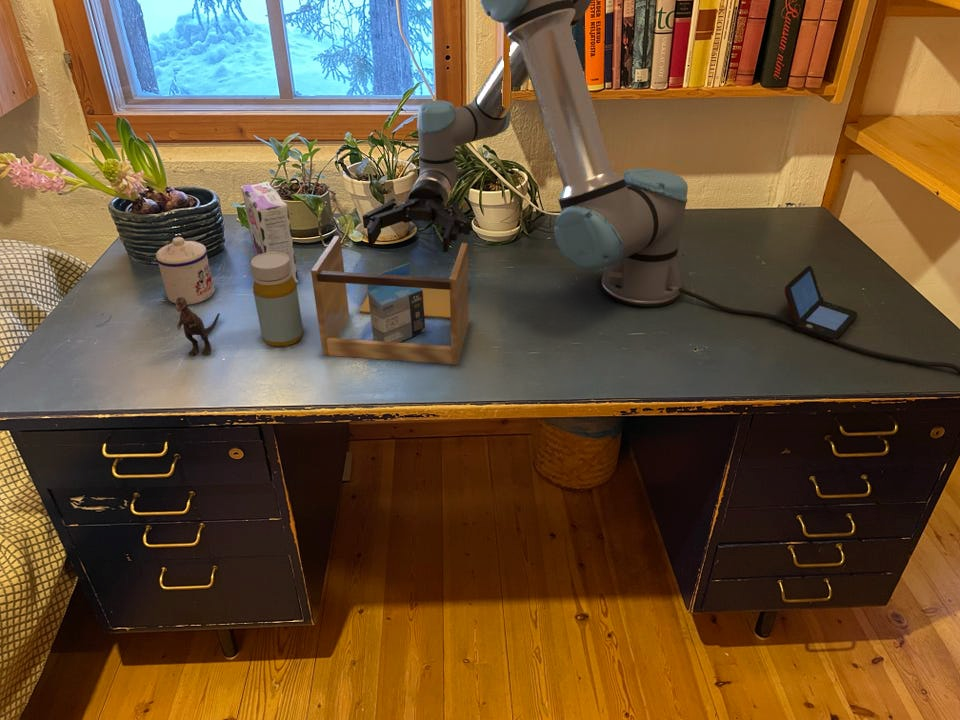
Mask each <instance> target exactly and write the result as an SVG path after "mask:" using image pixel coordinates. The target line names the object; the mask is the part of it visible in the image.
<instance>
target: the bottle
mask: <svg viewBox="0 0 960 720" xmlns="http://www.w3.org/2000/svg"><path fill="white" fill-rule="evenodd" d="M250 267H251V272H252V275H253V283H252V292H253V296H254V302H255V307H256V312H257V313H256V314H257V317H258V318H257V319H258V324H259V328H260V333H261V337H262V340H263V341H264V342H265V343H266V344H268V345H269V346H272V347H276V348H282V347H288V346H292V345H294V344H297V343H298V342H299V341H300V340H301V338H302V337H303V336H304V326H303V320H302V313H301V308H300V301H299V294H298V287H297V283H296V282H295V280H294V278H293V277H292V273H291V265H290V259H289V257H288V256H287V255H286V254H284V253H280V252H268V253H263V254H260V255H257V256H254V257H253V258H252V259H251V260H250Z"/></svg>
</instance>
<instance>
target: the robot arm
mask: <svg viewBox="0 0 960 720" xmlns="http://www.w3.org/2000/svg"><path fill="white" fill-rule="evenodd" d="M479 2H480V5H481V7H482V9H483V11H484V13H485V14H486V15H487V16H488V17H490V19H492V20H493V21H495V22H497V23H502V25H503V29H504V32H505V34H506V38H507V40H509V41H510V40H511V45H510V52H509V56H510V58H509V60H510V61H509V63H510V64H509V65H510V68H511V69H510V70H511V76H512V86H513V87H520V86H522V85H523V84H524V83H525V82H527V81H528V80H529V79H530V80H531V81H530V83H531V86H532V89H533V94H534V97H535V99H536V103H537V106H538V109H539V112H540V115H541V120H542V122H543V125H544V129H545V131H546V135H547V138H548V141H549V144H550V148H551V151H552V154H553V157H554V161H555V164H556V168H557V170H558V174H559V177H560V180H561V183H562V190H561V192H560V194H559V196H558V204H559V206H560V210H561V212H560V213H558V215H557V217H556V219H555V225H554V229H553V232H554V238H555V241H556V244H557V247H558V248H559V250H560V252H561V253H562V255H563V256H564V257H565V259H567V260H568V261H569V263H571V264H574V265H575V266H576V267H578V268H579V269H582V270H585V271H598V270H602V269H604V270H603V273H602V277H601V284H600V287H601V289H602V291H603V293H604V294H605V295H606V296H607V297H608V298H610V299H612V300H613V301H615V302H617V303H620V304H623V305H626V306H631V307H637V308H659V307H663V306H668V305H671V304H672V303H675V302H676V301H677V300H678V299H679V298H680V296H681V294H684V295H687V296H689V297H692V298H694V299H696V300H699V301H701V302H704V303H705V304H708V305H710V306H712V307H713V308H716V309H719V310H721V311H724V312H729V313H732V314H740V315H747V316H756V317H763V318H768V319H772V320H775V321H779V322H781V323H784V324H786V325H789V326H791V327H793V325H794V323H795V322H794V320H793V321H792V320H791V319H788V318H785V317H783V316H779V315H776V314H772V313H768V312H763V311H758V310H757V311H755V310H746V309H739V308H733V307H729V306H725V305H723V304H720V303H717V302H715V301H713V300H711V299H709V298H707V297H705V296H702V295H699V294H697V293H695V292H692V291H690V290H687V289H684V288H682V287H683V280H682V275H681V269H680V264H679V259H678V254H679V253H678V252H679V246H680V241H681V234H682V229H683V224H684V218H685V212H686V206H687V203H688V191H689V188H688V187H689V186H688V183H687V181H686V180H685V179H684V178H683V177H681V176H680V175H678V174H675V173H672V172H669V171H666V170H661V169H656V168H655V169H654V168H647V167H646V168H644V167H643V168H642V167H640V168H639V167H637V168H630V169H627V170H626V171H624V173H623V175H622V174H620V173H619V172H616V171H615V170H614V169H613V167H612V164H611V161H610V157H609V153H608V150H607V147H606V144H605V141H604V137H603V134H602V131H601V127H600V123H599V121H598V116H597V114H596V110H595V107H594V104H593V100H592V96H591V93H590V90H589V87H588V83H587V79H586V76H585V72H584V70H583V66H582V62H581V60H580V56H579V53H578V49H577V46H576V45H577V44H576V42H575V39H574V36H573V32H572V29H571V28H573V27H575V26H577V25H578V23H579V22H580V20H582V18H583V16H584V15H585V14H586V12H587V11H588V9H589V8H590V6H591V4H592V2H593V0H479ZM503 71H504V61H503V58H502V56H501V55H500V56H499V58H498V59H497V61H496V63H495V64H494V66H493V68H492V69H491V71H490V72H489V74H488V76H487V78H486V79H485V81H483V84H482V85H481V86H480V89H479V90H478V92H477V94H476V95H475V97H474V98H473V99H472V102H470V103H468V104H464V105H460V106H457V107H455V105H454V104H453V103H452V102H450V101H447V100H443V99H442V100H439V99H438V100H437V99H436V100H428V101H427V100H426V101H424V102H423V103H421V104H420V105H419V107H418V109H417V123H416V128H417V136H418V151H419V152H418V154H419V155H418V156H419V157H418V159H419V160H418V165H419V175H418V178H417V179H416V181H415V182H414V184H413V186H412V188H411V189H410V191H409V193H408V196H407V197H406V198H407V199H406V200H405V201H403V202H402V203H401V202H397V200H396V198H390V199H389V200H388V201H387V202H385V203H383V204H381V205H379V206H377V207H376V208H373V209H371V210H370V211H367V212H365V213H363V214H362V215H361V216H362V225H363V228H364V229H366V234H367V243H368V244H367V246H368V247H369V248H373V247H375V244H376V242H377V241H378V238H379V237H380V235H381V233H382V229H385V228H388V227H390V226H394V225H396V224H399V223H404V224H407V223H410V222H412V221H423V222H431V223H433V224H434V225H435V226H437V225H439V226H440V227H442V228H443V229H445V232H444V234H443V237H442V252H443V253H448V251H449V250H450V246H451V243H452V242H456V241H458V239H459V236H460V235H461V234H463V235H464V236H469V235H470V234H471V221H470V219H469V218H468V217H467V216H466V214H464V212H463V211H462V209H460V204H459V202H457V201H456V202H455V201H454V202H452V204H450V205H447V204H448V201H449V199H450V197H451V194H452V192H453V189H454V188H455V186H456V185H457V182H458V175H459V170H458V169H459V168H458V165H457V163H456V148H457V147H459V146H462V145H467V144H470V143H473V142H477V141H481V140H484V139H488V138H493V137H496V136H498V135H499V134H502V133H504V132H506V131H507V130H508V129H509V127H510V124H511V119H512V113H511V109H512V108H513V106H514V105H515V104H516V102H517V101H518V99H517V100H513V101H512V103H511V107H510V108H507V109H504V108H503V106H502V93H501V89H502V81H503ZM829 342H831V343H833V344H835V345H838V346H841V347H843V348H846V349H849V350H852V351H855V352H859V353H861V354H865V355H868V356H873V357H875V358H876V357H877V358H882V359H885V360H891V361H896V362H903V363H907V364H914V365H918V366H922V367H923V366H924V367H936V368H937V367H938V368H948V369H952V370H954V371H955V372H957V373H958V374H960V366H959V365H957V364H954V363H951V362H944V361H926V360H920V359H915V358H910V357H905V356H899V355H893V354H888V353H884V352H879V351H875V350H870V349H866V348H864V347H861V346H857V345H854V344H850V343H847V342H845V341H842V340H840V339H832V340H831V341H829ZM913 516H914V518H913V517H912V518H913V520H912V519H911V520H912V522H911V521H910V523H911V524H910V523H909V525H910V526H909V525H908V527H909V528H908V527H907V532H909V533H912V532H913V530H914V528H915V525H916V523H917V520H918V518H919V515H913Z"/></svg>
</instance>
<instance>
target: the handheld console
mask: <svg viewBox="0 0 960 720" xmlns="http://www.w3.org/2000/svg"><path fill="white" fill-rule="evenodd" d="M819 288H820V287H819V286H818V281H817V278H816V275H815V271H814V269H813V267H812V266H811V265H807V266H806V267H805V268H803V270H802V271H800V272H799V273H798V274H797V275H796V276H795V277H794V278H793V279H792V280H790V282H788V283H787V284H786V285H785V286H784V289H783V290H784V291H783V292H784V296H785V298H786V301H787V305H788V308H789V311H790V314H791V317H792V320H793V322H795V323H794V325H793V326H792V329H793V330H795V331H799V332H801V333H804V334H806V335H810V336H812V337H816V338H819V339H821V340H825V341H827V342H830V341H831V340H832V339H837V340H839V338H840V337H841V336H842V335H843V334H844V333H845V331H846V330H847V329H848V328H849V326H851V324H852V323H853V322H854V321H856V319H857V317H858V312H857V311H856V310H853V309H850V308H847V307H844V306H841V305H838V304H835V303H831V302H828V301H827V300H824V297H823V296H822V294H821V291H820V289H819Z"/></svg>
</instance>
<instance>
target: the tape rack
mask: <svg viewBox="0 0 960 720" xmlns="http://www.w3.org/2000/svg"><path fill="white" fill-rule="evenodd" d="M341 239H342V238H341V235H334V236H333V237H332V239H331V241H330V242H329V244H328V245H327V246H326V248H325V249H324V251H323V253H322V254H321V255H320V256H319V258H318V260H317V261H316V263H315V264H314V265H313V267H312V268H311V270H310V275H311V280H312V288H313V289H312V290H313V295H314V303H315V308H316V316H317V323H318V324H317V325H318V331H319V338H320V344H321V345H320V346H321V352H322V356H327V357H328V356H331V357H332V356H333V357H345V358H346V357H347V358H357V359H358V358H359V359H360V358H361V359H371V360H372V359H373V360H385V361H387V360H388V361H398V362H399V361H400V362H401V361H402V362H414V363H427V364H439V365H440V364H442V365H452V366H458V364H459V361H460V357H461V353H462V349H463V346H464V343H465V342H464V341H465V340H466V339H465V338H466V334H467V331H468V326H469V249H468V247H469V244H468V243H467V242H461V244H460V247H459V250H458V253H457V256H456V260H455V262H454V265H453V268H452V271H451V275H450V277H449V278H446V277H429V276H415V275H414V276H412V275H410V276H399V275H396V274H394V275H383V274H380V273H366V272H364V273H363V272H350V271H349V272H348V271H345V266H344V257H343V247H342V241H341ZM347 284H349V285H351V284H352V285H366V286H368V285H381V286H397V287H413V288H429V289H445V290H450V318H451V319H450V345H440V344H439V345H437V344H423V343H411V342H410V343H408V342H399V343H397V342H383V341H374V340H369V339H356V338H355V339H353V338H340V335H341V333H342V331H343V329H344V327H345V325H346V324H347V321H348V320H349V318H350V310H349V301H348V292H347Z"/></svg>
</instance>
